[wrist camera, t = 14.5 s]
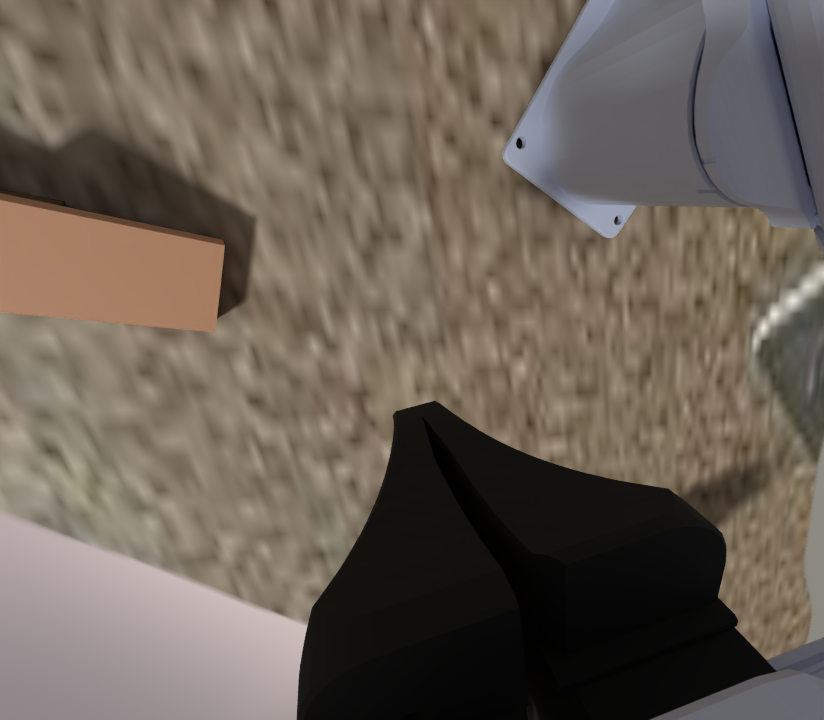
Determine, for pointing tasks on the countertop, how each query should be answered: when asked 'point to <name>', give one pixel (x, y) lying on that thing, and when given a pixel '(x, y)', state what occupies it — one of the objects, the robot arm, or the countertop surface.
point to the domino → (105, 268)
